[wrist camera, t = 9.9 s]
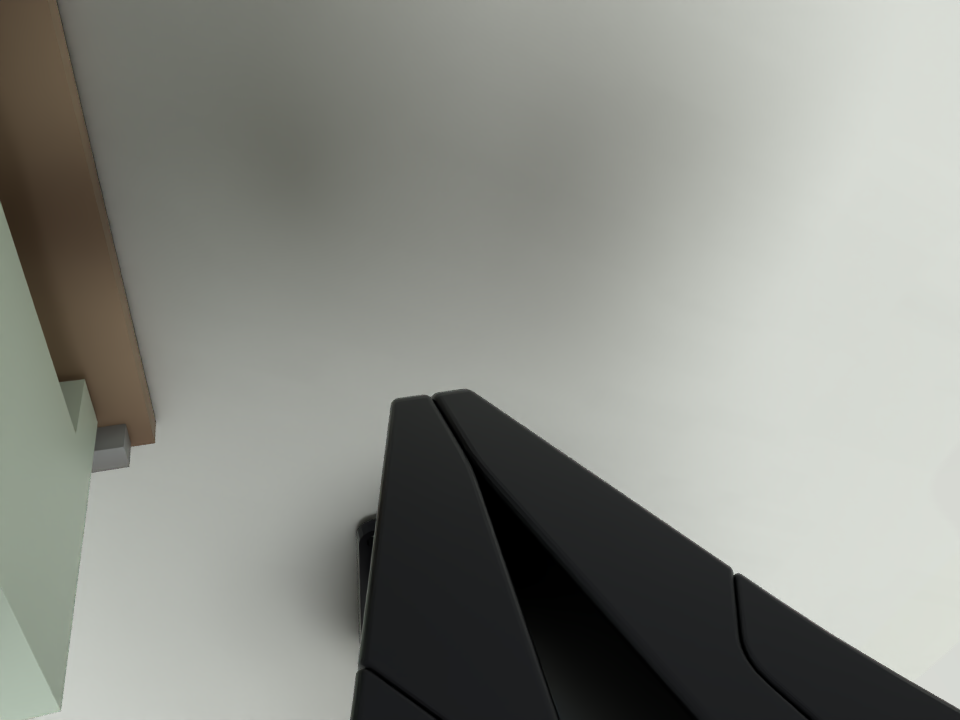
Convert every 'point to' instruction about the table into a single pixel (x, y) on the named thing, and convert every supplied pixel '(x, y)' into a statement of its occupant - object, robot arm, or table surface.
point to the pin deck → (66, 229)
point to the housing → (37, 501)
